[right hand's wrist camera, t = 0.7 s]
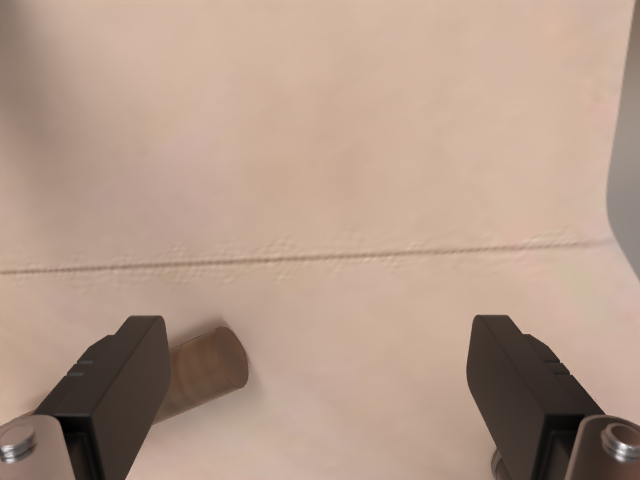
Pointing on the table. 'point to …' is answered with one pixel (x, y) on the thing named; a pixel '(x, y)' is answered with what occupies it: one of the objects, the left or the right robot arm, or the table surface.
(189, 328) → the table surface
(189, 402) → the rod
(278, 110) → the table surface
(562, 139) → the table surface
